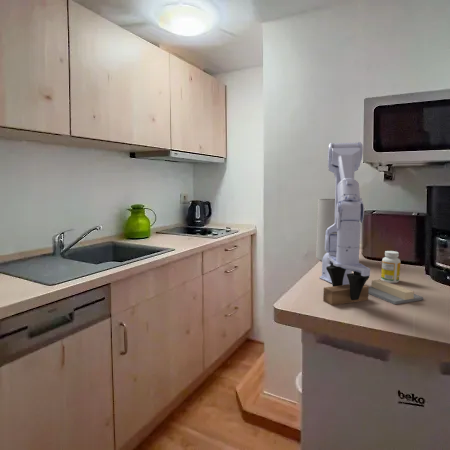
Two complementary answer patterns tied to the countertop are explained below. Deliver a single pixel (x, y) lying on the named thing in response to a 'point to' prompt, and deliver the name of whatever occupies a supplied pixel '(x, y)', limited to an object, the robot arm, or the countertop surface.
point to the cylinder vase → (324, 224)
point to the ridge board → (390, 297)
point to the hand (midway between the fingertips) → (345, 295)
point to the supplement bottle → (390, 267)
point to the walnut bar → (342, 294)
